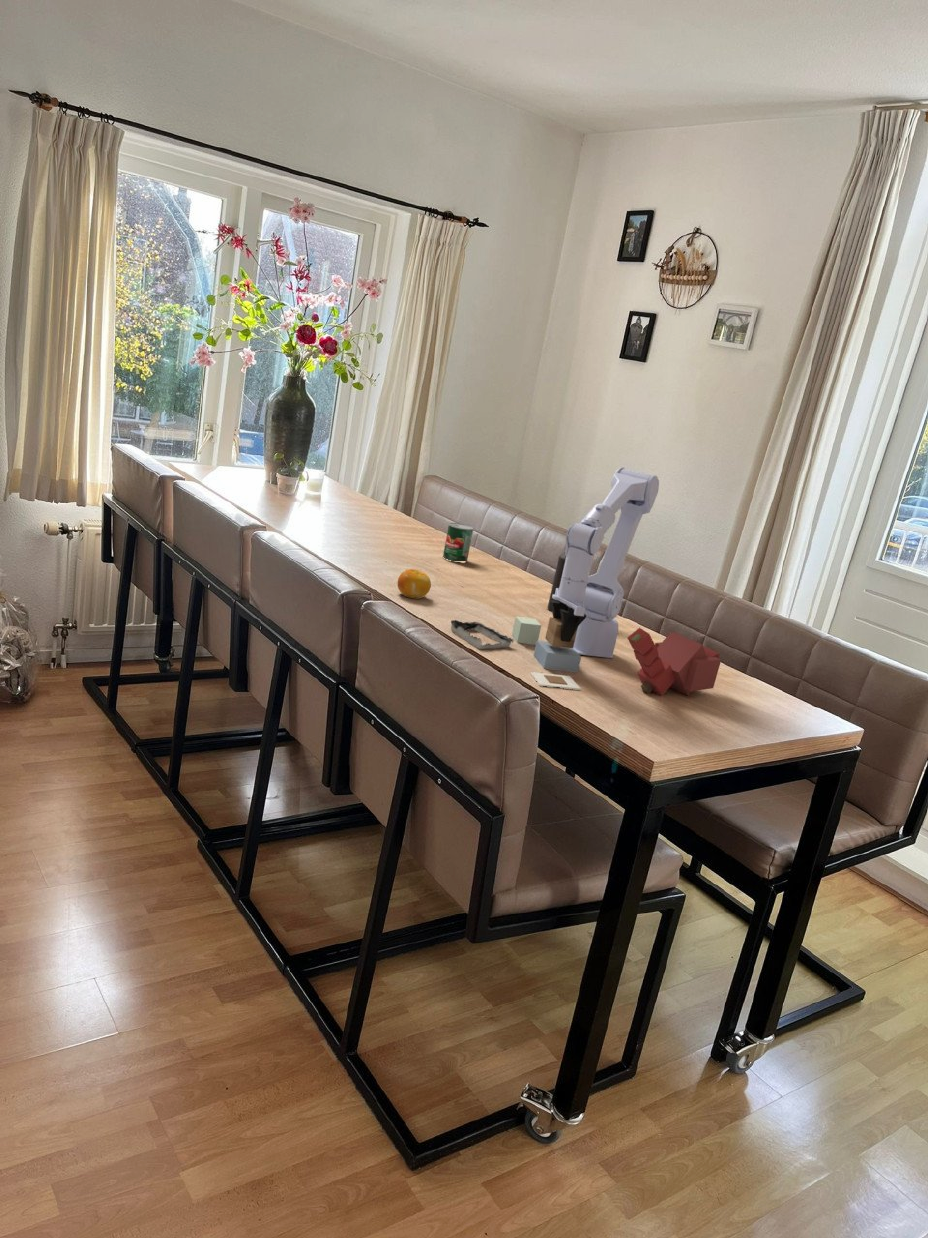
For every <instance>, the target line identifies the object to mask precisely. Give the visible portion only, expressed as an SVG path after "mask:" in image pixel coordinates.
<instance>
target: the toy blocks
mask: <svg viewBox="0 0 928 1238" xmlns="http://www.w3.org/2000/svg"><path fill="white" fill-rule="evenodd" d="M627 640H628V641H629V644H630V646H631V647H632V649H633V653H634V656H635V659H636V660H637V661H638V663H639V665H640V669H639V670H638V671H637V675H638V677H639V680H640V682H641V683H642V684H641V685H640V688H641V690H642V691H643V692H644V693H646V694H648V695H649V694H650V693H651V692H652V693H655V694H657V695H659V696H661V697H662V696H663V695H664V694H665V693H666V692H667V691H668V689H670V688H671V689H673V690H675V691H677V692H679V693H681V694H683V693H684V694H683V695H685V694H686V696H687V695H688V696H687V697H689V696H690V695H691V693H692V692H697V691H703V690H711V689H714V688H715V685H716V684H715V683H716V679H717V677H718V672H719V668H720V665H721V662H722V659H720V653H719V652H717V651H715V650H712V649H710V648H708V647H706V646H703V644H702V643H700V642H697V641H694V640H692V639H690V638H687V637H686V636H683V635H681V634H678V633H676V632H673V631H670V633H669V634H668V635H667V636H666V637H665V639H664V640H663V641H661V642H655V643H654V640H653V638H652V637H651V635H650V633H649V632H647V631H645V630H644V629H642V628H641V627H639V628H637V629H635V631H633V633H631V634H630V635H628V636H627Z"/></svg>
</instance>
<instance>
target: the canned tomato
mask: <svg viewBox="0 0 928 1238" xmlns="http://www.w3.org/2000/svg"><path fill="white" fill-rule="evenodd" d="M473 533H474V527H473V526H470V525H467V524H464V523H459V522H449V523H448V527H447V532H446V538H445V544H444V549H443V553H442V558H443V557H444V558H445V559H448V560H451V561H467V562H468V558H469V553H470V548H471V544H472V543H471V542H472V537H473ZM445 559H444V560H445Z"/></svg>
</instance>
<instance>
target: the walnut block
mask: <svg viewBox="0 0 928 1238" xmlns="http://www.w3.org/2000/svg"><path fill="white" fill-rule="evenodd" d="M561 626H562V619H559V618H553V617H549V620H548V625H547V630H546V632H545V634H546V635H545V637H544V638H545V640H546V642H549V643H550V644H551V645H552V646H557V647H566V648H573V647H574V642H575V638H576V634H577V630H576V631H575V633H574V635H573V637H572V639H571V641H570V642H565V641H561ZM577 629H578V628H577Z"/></svg>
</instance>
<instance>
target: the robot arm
mask: <svg viewBox="0 0 928 1238" xmlns="http://www.w3.org/2000/svg"><path fill="white" fill-rule="evenodd" d="M610 483H611V486H610V487H611V488H610V491H609V493H608V494H607V495H606V497H605V499H604V500H603V501H602V503H597V504H594V506H593V507H592V508H590V510H589V511H588V512H587V514H586V515H585V516H584V518H582V520H581V521H580V522H576V523H573V524H571V525H570V526H569V528H568V530H567V533H566V535H565V539H564V540H565V541H564V542H565V543H566V549H565V548H564V549H565V550H564V552H565V555H566V560H565V565H564V569H563V574H562V578H561V583H560V587H559V588H556V591H555V594H553V595H552V598H553V599H555V600H551V601H550V603H551V607H552V612H551V613H552V618H559V619H562V626H561V641H565V642H570V641H571V639H572V637H573V635H574V633H575V631H576V630H577V634H576V638H575V642H574V647H573V648H574V649H575V650H576V651H577V653H578V654H579V655H580V656H581V655H583V656H590V657H591V656H592V657H598V658H605V659H606V658H608V659H614V655H613V654H614V650H615V646H616V643H617V639H618V634H619V622H618V620H617V619H616V617H617V616H619V613H620V611H621V607H622V604H623V598H624V596H625V591H624V588H623V587H622V585H621V584H620V582H619V580H618V578H619V576H620V573H621V570H622V568H623V565H624V563H625V561H626V558H627V555H628V552H629V549H630V547H631V545H632V542H633V540H634V537H635V534H636V532H637V529H638V526H639V524H640V522H641V520H642V519H643V518H642V517H643V515H646V514H649V513H650V512H651V510H652V509H653V506H654V503H655V502H656V498H657V496H658V493H659V486H660V480H659V477H658V476H657V475H655V474H653V475H652V474H648V473H645V472H644V473H643V472H640V471H636V470H632V469H628V468H625V467H622V466H620V467H618V468H617V469H616V470H615V472H614V473H613V475H612V478H611V482H610ZM619 510H620V514H619V516H618V520H617V522H616V524H615V527H614V529H613V531H612V535H611V537H610V539H609V542H608V544H607V547H606V550H605V553H604V555H603V558H602V560H601V562H600V565H599V568H598V570H597V572H596V573H594V574H591V575H590V572H591V569H592V564H593V561H594V555H595V554H597V553H598V551H599V550H600V548H601V545H602V543H603V541H604V539H605V534H606V533H607V532H608V531H609V529H610V528H611V527H612V526H613V524H614V523H615V521H616V513H617V512H618V511H619ZM556 600H557V601H556ZM577 628H578V629H577Z"/></svg>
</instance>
